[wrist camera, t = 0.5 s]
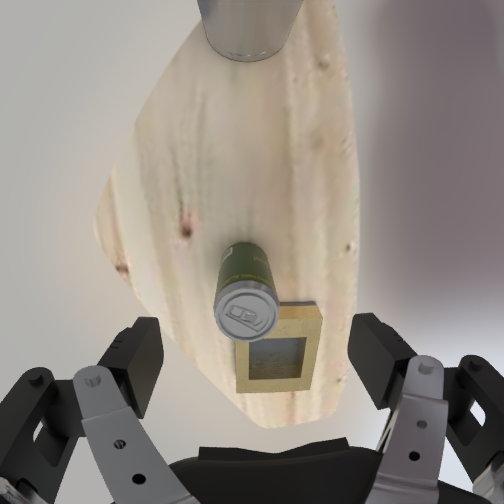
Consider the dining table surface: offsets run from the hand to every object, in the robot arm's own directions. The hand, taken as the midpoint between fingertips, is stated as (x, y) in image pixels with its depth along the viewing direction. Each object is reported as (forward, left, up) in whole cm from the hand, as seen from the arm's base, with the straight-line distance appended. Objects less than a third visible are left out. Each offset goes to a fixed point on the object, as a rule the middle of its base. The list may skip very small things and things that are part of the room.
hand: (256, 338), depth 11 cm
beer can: (+5, 0, -22) cm, 22 cm away
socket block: (+16, +4, -22) cm, 27 cm away
